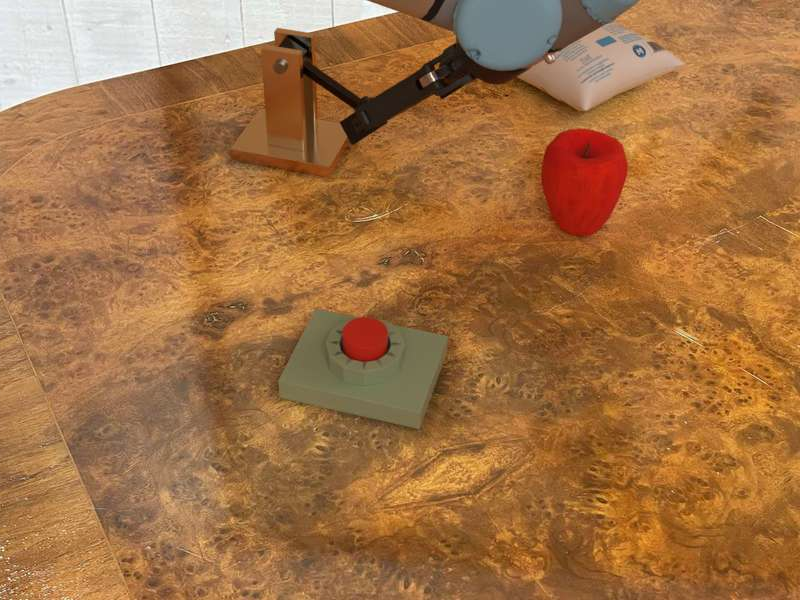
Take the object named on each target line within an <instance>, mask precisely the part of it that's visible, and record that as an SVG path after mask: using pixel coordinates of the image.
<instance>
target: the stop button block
mask: <svg viewBox="0 0 800 600" xmlns="http://www.w3.org/2000/svg"><path fill="white" fill-rule="evenodd" d="M369 317H370V318H372V316H369ZM356 318H360V317H359V316H354V315H350V314H345V313H340V312H335V311H332V310H331V311H330V310H326V309H321V308H316V307H315V309H314V310H313V312H312V313H311V316H310V318H309V320H308V322H307V324H306V326H305V328H304V330H303V331H302V334H301V336H300V338H299V339H298V341H297V343H296V345H295V347H294V349H293V351H292V353H291V355H290V357H289V359H288V361H287V363H286V365H285V367H284V368H283V371H282V372H281V374H280V376H279V379H278V380H277V383H278V385H277V386H278V396H279V398H280V399H284V400H288V401H293V402H298V403H302V404H306V405H310V406H315V407H319V408H324V409H326V410H327V409H328V410H333V411H336V412H340V413H341V412H342V413H346V414H350V415H355V416H359V417H364V418H367V419H373V420H376V421H380V422H385V423H389V424H394V425H397V426H401V427H402V426H403V427H406V428H410V429H411V428H412V429H417V430H421V428H422V427H421V426H422V424H423V421H424V418H425V416H426V413H427V410H428V407H429V405H430V402H431V399H432V396H433V393H434V392H435V391H434V390H435V387H436V385H437V382H438V379H439V377H440V374H441V371H442V368H443V365H444V362H445V359H446V357H447V354H448V345H449V335H446V334H441V333H438V332H437V333H436V332H431V331H426V330H422V329H417V328H412V327H407V326H403V325H398V324H393V323H390V322H389V321H387V320H386V319H380V318H375V317H373V318H374V319H377V320H379V321H381V322H382V323H383V324H384V325H385V326H386V328H387V330H388V347H387V351H386V353H385V354H384V355H383V356H382V357H381V358H379V359H377V360H375V361H369V362H361V361H357V360H353V359H351V358H349V357H348V356H347V355H346V354H345V352H344V350H343V328H344V327H345V325H346V324H347V323H348V322H350V321H351V320H353V319H356Z"/></svg>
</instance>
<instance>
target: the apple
mask: <svg viewBox="0 0 800 600" xmlns="http://www.w3.org/2000/svg"><path fill="white" fill-rule="evenodd" d="M624 148H625V147H624V146H623V143H621V142H620V141H619V140H618V139H617V138H616V137H613V136H611V135H610V134H609V135H608V134H606V133H604V132H601V131H598V130H594V129H589V128H569V129H567V130H564V131H561V132H559V133H558V134H557V135H556V136H555V137H554V138H553V139H552V140H551V141H550V142H549V143H548V145H547V146H546V147H545V150H544V153H543V158H542V164H541V175H540V176H541V187H542V191H543V195H544V198H545V200H546V203H547V206H548V209H549V212H550V215H551V216H552V219H553V220H554V222H555V223H556V225H557V226H558V227H559V228H560V230H562V231H563V232H565V233H567V234H568V235H575V236H582V237H583V236H586V237H587V236H588V237H590V236H592V235H595V234H596V233H597V232H599V231H600V229H601V228H602V227H603V226H604V225H605V224H606V223H607V222H608V220H609V219H610V217H611V216H612V213H613V212H614V209H615V208H616V205H617V204H618V202H619V200H620V198H621V194H622V192H623V189H624V186H625V183H626V180H627V176H628V168H629V163H628V159H627V155H626V152H625V149H624Z"/></svg>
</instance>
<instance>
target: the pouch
mask: <svg viewBox="0 0 800 600" xmlns="http://www.w3.org/2000/svg"><path fill="white" fill-rule="evenodd" d="M554 55H555V57H556V61H555V62H554V63H552V64H547V63H546V62H545V60H543V61H541V62H540V63H538V64H536V65H534V66H532V67H531V68H530V69H529V70H527V71H526V72H524V73H522V74H521V75H519V76H517V77H516V78H517V79H519V80H521V81H523V82H525V83H527V84H529V85H531V86H533V87H535V88H537V89H539V90H540V91H542V92H544V93H546V94H548V95H549V96H551V97H552V98H554V99H556V100H558V101H560V102H561V103H563V104H565V105H567V106H568V107H571V108H573V109H575V110H577V111H579V112H587V111H590V110H591V109H593V108H594V107H595V108H596V107H597V106H599V105H602V104H603V103H605V102H607V101H609V100H610V99H612V98H614V97H615V96H617V95H620V94H622V93H625V92H627V91H630V90H632V89H635V88H637V87H639V86H642V85H645V84H646V83H648V82H650V81H653V80H655V79H657V78H660V77H663V76H665V75H667V74H669V73H671V72H673V71H676V70H677V69H679V68H681V67H684V66H685V65H686V63H685V62H684V61H683V60H681V58H679V57H678V56H676V55H675V54H674V53H672V52H671V51H670V50H669V49H667V48H665V47H664V46H663V45H660V44H658V43H656V42H655V41H653V40H651V39H649V38H648V37H646V36H644V35H641V34H640V33H638V32H636V31H634V30H632V29H629V28H627V27H626V26H623V25H621V24H619V23H617V22H615V21H613V22H611V23H610V24H609V23H608V24H605V25H604V26H602V27H600V28H598V29H597V30H595V31H593V32H591V33H590V34H588V35H586V36H584V37H583V38H581V39H579V40H577V41H575V42H574V43H572V44H570V45H569V46H567V47H565V48H563V49H561V50H560V51H558V52H556V53H554Z"/></svg>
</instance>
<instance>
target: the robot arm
mask: <svg viewBox="0 0 800 600" xmlns="http://www.w3.org/2000/svg"><path fill="white" fill-rule="evenodd" d="M366 1H367V2H370V3H373V4H375V5H379V6H381V7H385V8H387V9H390V10H393V11H395V12H398V13H402V14H403V15H407V16H409V17H413V18H414V19H418V20H421V21H423V22H427V23H429V24H431V25H434V26H435V27H439V28H441V29H444V30H447V31H450V32H452V33H453V34H454V36H455V42H454V43H453V44H451V45H449V46H448V47H446V48H445V49H444V50H443V51H442V53H441V54H439V55H437V56H436V57H434V58H432V59H430V60H428V61H427V62H426V63H424V64H423V65H422V66H421V68H419V69H418V70H416V71H415V72H413V73H412V74H410V75H408V76H407V77H405V78H403V79H401V80H400V81H398V82H397V83H395V84H393V85H392V86H391V87H389V88H387V89H385V90H384V91H382V92H381V93H379V94H377V95H376V96H373V97H374V98H372V99H371V100H369V98H368V97H369V96H368V95H364V96H362V97H360V98H361V101H362V102H363V105H359V106H357V108H355V109H353V110H354V111H353V112H352V113H351V114H349V115H348V116H347V117H345V118H344V119H342V120H341V121H339V123H340V124H341V126H342V128H343V130H344V132H345V133H346V135H347V137H348V139H349V141H350V145H351V146H354V145H356V144H357V143H359V142H361V141H362V140H364V139H365V138H367V137H368V136H370V135H371V134H373V133H374V132H376V131H377V130H379V129H380V128H382V127H384V126H386V125H387V124H388V121H390V120H392V119H394V118H395V117H397V116H398V115H399V116H400V115H401V114H402V113H404V112H405V111H408V110H409V109H411V108H413V107H414V106H416V105H418V104H419V103H422V102H423V101H425V100H427V99H428V98H430V97H432V96H436V97H439V98H440V100H444V99H445V98H447V97H449V96H451V95H452V94H454V93H455V92H457V91H459V90H460V89H462V88H463V87H465V86H467V85H468V84H470V83H473V82H474V81H475V80H477V79H478V80H479V81H482V82H483V83H486V84H489V85H504V84H507V83H509V82H510V81H512V80H514V79H515V78H517V76H519V75H521V74H522V73H524V72H526V71H527V70H529V69H530V68H531V67H532V66H534V65H536V64H538V63H540V62H541V61H543V60H545V62H546V63H547V64H552V63H554V62H555V61H556V57H555V55H554V53H556V52H558V51H560V50H561V49H563V48H565V47H567V46H569V45H570V44H572V43H574V42H575V41H577V40H579V39H581V38H583V37H584V36H586V35H588V34H590V33H591V32H593V31H595V30H597V29H598V28H600V27H602V26H604V25H605V24H608V23H609V24H610V23H611V22H615V21H616V20H617V18H619V17H620V16H621V15H623V14H625V13H626V12H627V11H629V10H630V9H631V8H632V7H634V6H635V5H636V4H638V3H639V2H640V1H641V0H366ZM438 64H439V65H438ZM436 65H438V68H436V67H435V66H436Z"/></svg>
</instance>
